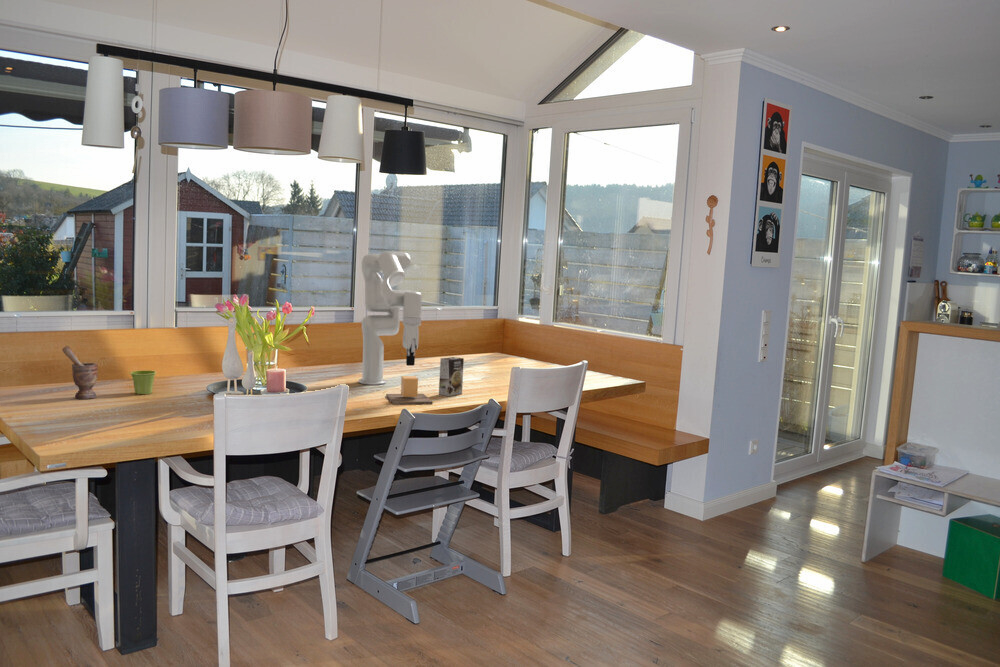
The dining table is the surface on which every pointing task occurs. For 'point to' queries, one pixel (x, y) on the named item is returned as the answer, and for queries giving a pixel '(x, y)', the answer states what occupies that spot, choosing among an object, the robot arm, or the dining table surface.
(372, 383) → the robot arm
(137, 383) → the plant pot
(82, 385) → the mortar and pestle
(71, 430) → the dining table surface
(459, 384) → the coffee box
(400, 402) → the post board
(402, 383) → the light brown block
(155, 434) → the dining table surface
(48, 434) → the dining table surface
